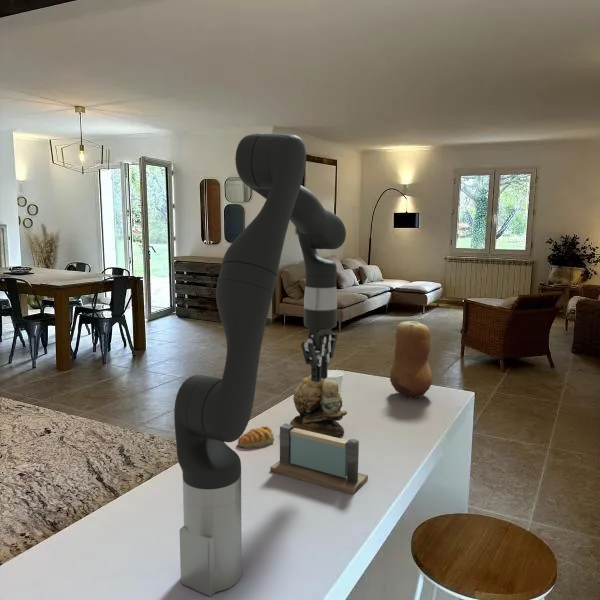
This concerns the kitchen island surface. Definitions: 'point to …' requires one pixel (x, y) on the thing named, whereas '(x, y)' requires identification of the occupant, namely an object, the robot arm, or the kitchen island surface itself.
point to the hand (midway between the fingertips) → (319, 379)
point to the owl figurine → (318, 407)
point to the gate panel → (319, 452)
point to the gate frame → (314, 476)
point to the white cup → (335, 378)
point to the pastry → (256, 437)
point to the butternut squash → (411, 360)
